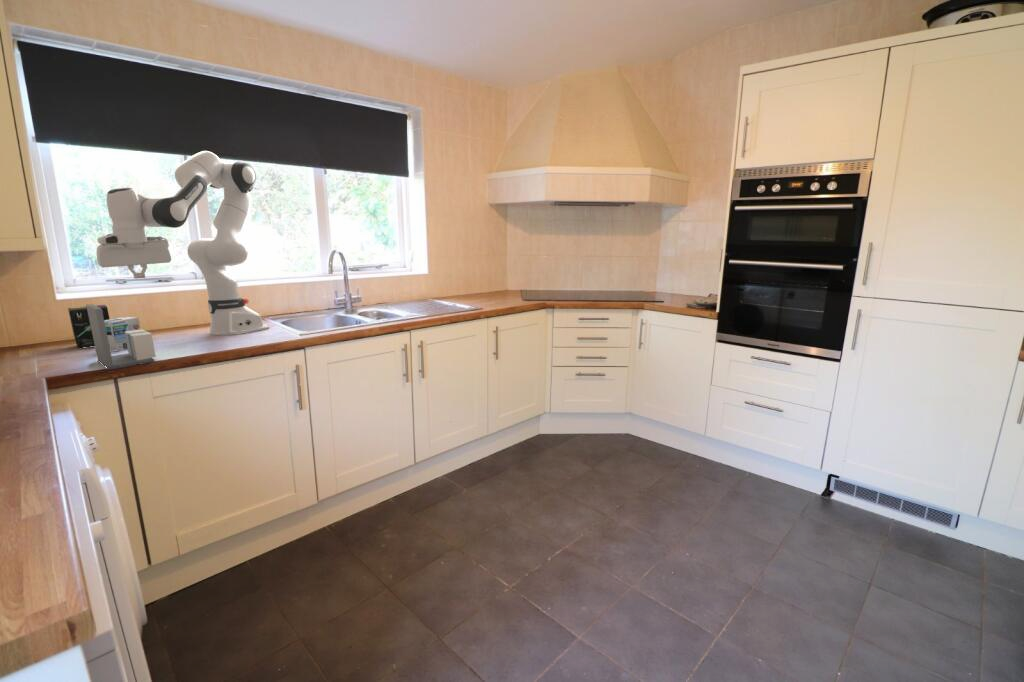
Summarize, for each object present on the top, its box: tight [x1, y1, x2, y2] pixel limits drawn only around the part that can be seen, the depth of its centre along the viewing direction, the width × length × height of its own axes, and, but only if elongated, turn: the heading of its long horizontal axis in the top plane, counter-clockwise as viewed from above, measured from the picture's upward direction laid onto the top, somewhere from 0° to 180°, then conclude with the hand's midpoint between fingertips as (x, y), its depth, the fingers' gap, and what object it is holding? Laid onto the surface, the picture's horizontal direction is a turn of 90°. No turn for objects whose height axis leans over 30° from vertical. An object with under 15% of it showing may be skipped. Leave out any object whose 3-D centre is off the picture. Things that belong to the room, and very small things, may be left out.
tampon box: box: [67, 304, 111, 349], centre depth 181 cm, size 11×9×15 cm
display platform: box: [85, 303, 155, 370], centre depth 156 cm, size 12×16×19 cm
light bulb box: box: [104, 316, 141, 351], centre depth 177 cm, size 11×7×11 cm, turn 168°
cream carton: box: [124, 328, 157, 360], centre depth 161 cm, size 8×12×5 cm
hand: (139, 278), depth 167 cm, fingers closed
